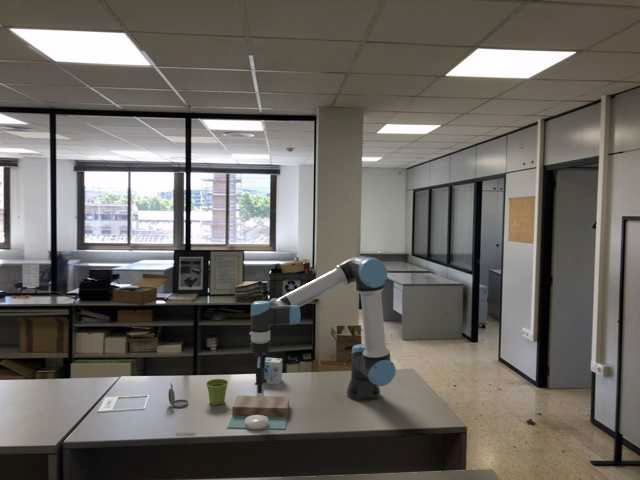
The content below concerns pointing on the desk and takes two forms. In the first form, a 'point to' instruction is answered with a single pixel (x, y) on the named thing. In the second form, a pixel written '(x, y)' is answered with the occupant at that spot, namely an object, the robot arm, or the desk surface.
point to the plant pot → (217, 390)
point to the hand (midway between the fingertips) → (260, 399)
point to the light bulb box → (273, 370)
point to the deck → (261, 406)
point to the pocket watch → (178, 402)
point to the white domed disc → (256, 422)
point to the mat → (273, 423)
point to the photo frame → (111, 401)
